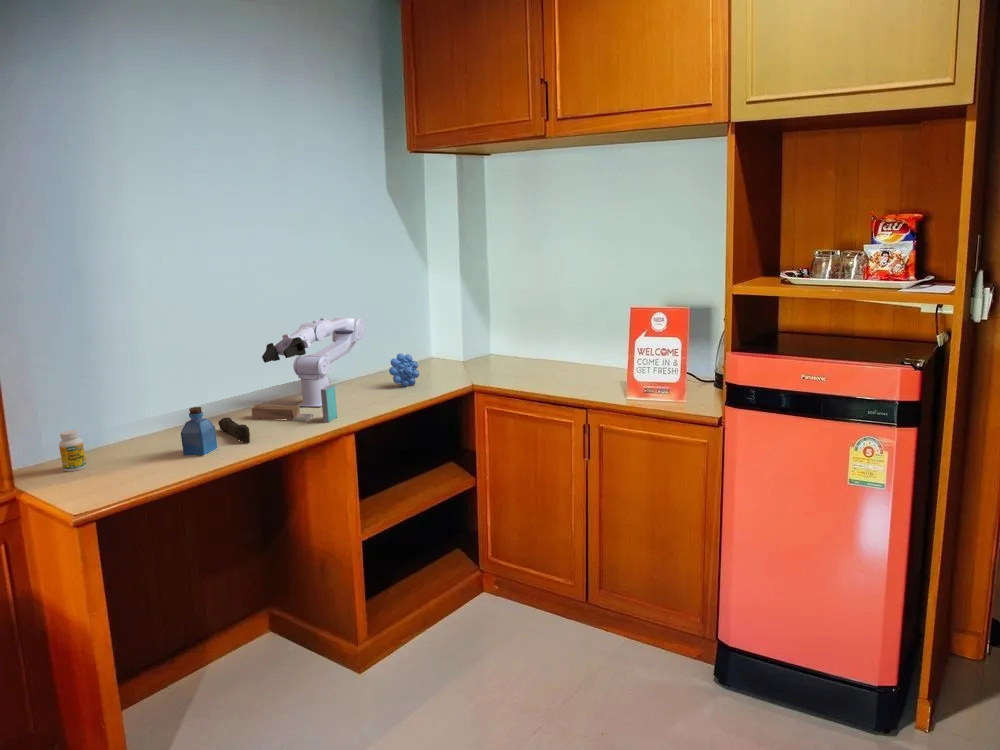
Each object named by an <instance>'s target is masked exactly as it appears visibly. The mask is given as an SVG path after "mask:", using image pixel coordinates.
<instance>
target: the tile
mask: <svg viewBox="0 0 1000 750" xmlns="http://www.w3.org/2000/svg"><path fill="white" fill-rule="evenodd" d="M321 399H322V406H321V409H322V419H323V423H324V422H325V423H326V424H327V423H328V422H329V423H330V422H332V421H333V419H334V420H335V419H337V418H338V409H337V408H338V407H337V398H336V386H335V384H329V386H327V387H325V388H323V389H321ZM336 417H337V418H336ZM329 423H328V424H329Z"/></svg>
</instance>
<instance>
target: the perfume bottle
mask: <svg viewBox="0 0 1000 750" xmlns="http://www.w3.org/2000/svg"><path fill="white" fill-rule="evenodd" d="M202 408H203V407H202V406H193V407H190V408H189V409H188V410H189V413H188V417H189V418H190V420H188V421H186V422H185V423H184V425H183V427H182V429H181V432H180V439H181V446H182V453H183V456H189V455H205V454H207V455H209V454H210V453H209V452H211V451H213V450H215V449H216V448H218V441H217V433H216V426H215V425H214V424H213V423H212V422H211V420H209V418H203V416H204V413H203V411H202ZM216 450H217V449H216ZM216 450H215V451H216ZM213 452H214V451H213ZM208 453H209V454H208ZM211 453H212V452H211Z"/></svg>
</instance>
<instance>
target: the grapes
mask: <svg viewBox="0 0 1000 750" xmlns="http://www.w3.org/2000/svg"><path fill="white" fill-rule="evenodd" d="M390 365H391V367H389V369H388V370H389V374H390V375H391V376H393V377H392V380H393V382H394V383H395V384H400V386H401V387H403V388H406V387H408V386H409V385H411V386H413V385H415V384H416V382H417V381H416V379H417V378H419V376H420V371H419V370H418V368H419V364H418V362H417V360H413V356H412V355H411V354H408V353H407V354H405V355H404V354H403V353H398V354H396V358H394V357H393V358H391V359H390Z"/></svg>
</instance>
